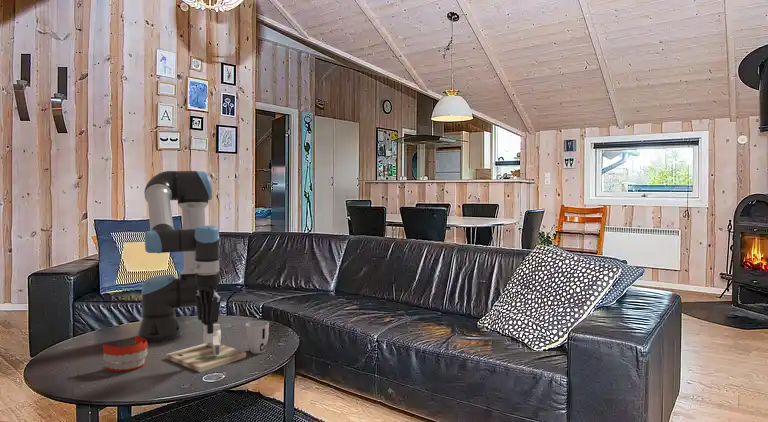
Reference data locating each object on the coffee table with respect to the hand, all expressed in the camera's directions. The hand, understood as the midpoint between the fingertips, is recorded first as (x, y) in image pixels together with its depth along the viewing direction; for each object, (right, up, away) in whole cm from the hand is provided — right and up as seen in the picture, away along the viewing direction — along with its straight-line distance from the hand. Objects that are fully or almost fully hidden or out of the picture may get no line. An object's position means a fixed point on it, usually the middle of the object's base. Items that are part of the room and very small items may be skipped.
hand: (208, 342), depth 175 cm
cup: (+14, -6, +12) cm, 19 cm away
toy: (-24, -7, -4) cm, 26 cm away
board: (-2, -7, +5) cm, 9 cm away
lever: (0, -5, +8) cm, 9 cm away
